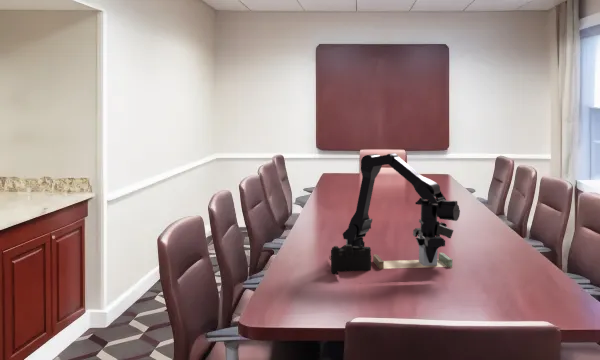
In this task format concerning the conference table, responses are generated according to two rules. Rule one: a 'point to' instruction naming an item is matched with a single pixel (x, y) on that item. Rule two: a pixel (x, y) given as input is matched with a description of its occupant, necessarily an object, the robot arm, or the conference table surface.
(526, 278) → the conference table surface
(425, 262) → the block
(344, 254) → the camera
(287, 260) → the conference table surface
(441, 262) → the track
